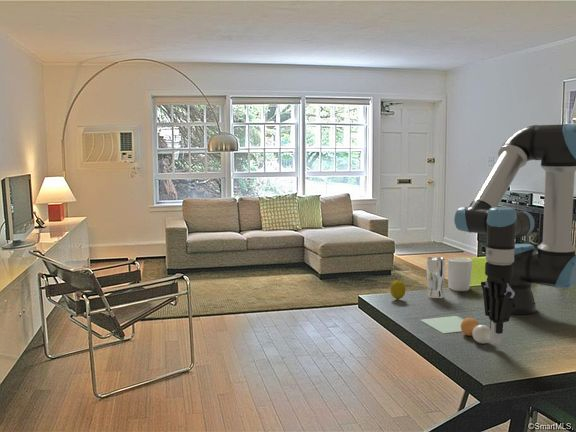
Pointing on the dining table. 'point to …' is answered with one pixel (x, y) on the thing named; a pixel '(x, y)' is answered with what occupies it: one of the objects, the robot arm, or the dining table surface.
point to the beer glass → (435, 277)
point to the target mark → (445, 324)
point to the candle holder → (459, 273)
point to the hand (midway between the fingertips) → (495, 342)
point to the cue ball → (481, 334)
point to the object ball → (468, 326)
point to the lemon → (398, 289)
